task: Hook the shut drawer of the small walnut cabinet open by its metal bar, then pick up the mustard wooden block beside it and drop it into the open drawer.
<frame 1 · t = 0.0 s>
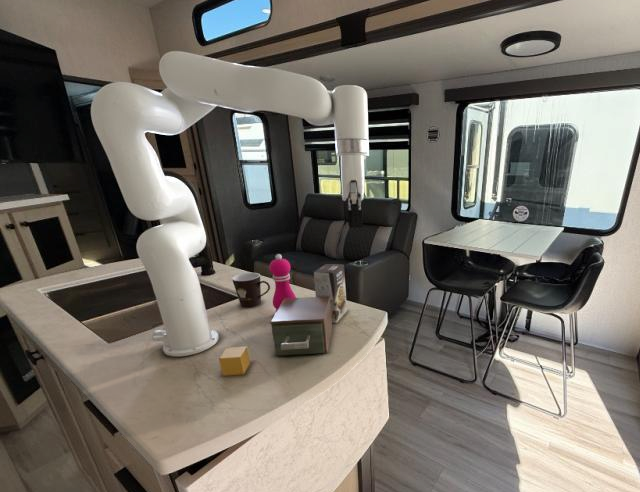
hand: (356, 223, 79), 31 cm above the countertop, tool pointing down, fingers open, 9 cm apart
coffee mug: (253, 305, 109), on the countertop
block: (237, 369, 74), on the countertop
pepper mill: (286, 315, 102), on the countertop
cabinet: (306, 339, 87), on the countertop
drawer: (301, 331, 81), point 5 cm above the countertop, slide at 0.0 cm
coffee box: (333, 316, 101), on the countertop
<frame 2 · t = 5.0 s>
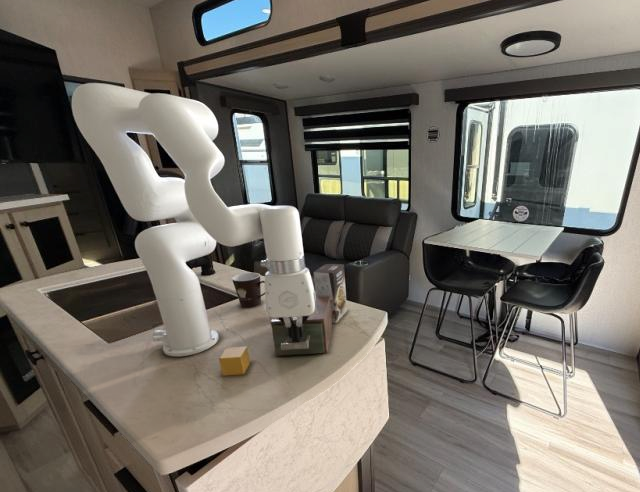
hand: (297, 339, 75), 6 cm above the countertop, tool pointing down, fingers closed
drawer: (301, 331, 81), point 5 cm above the countertop, slide at 0.1 cm, touching gripper
everything else where it was.
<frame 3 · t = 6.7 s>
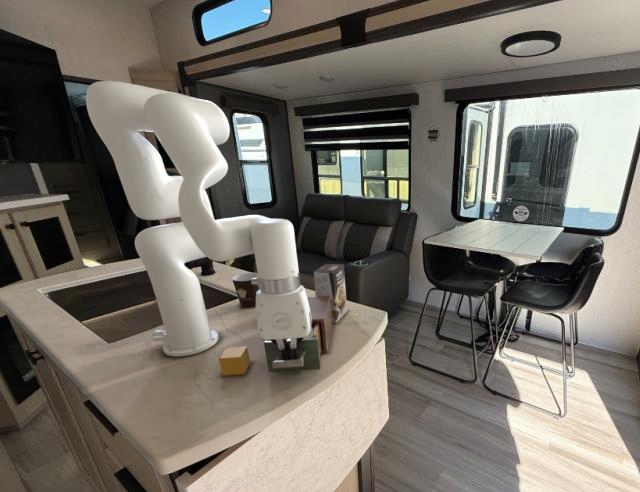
hand: (291, 361, 69), 5 cm above the countertop, tool pointing down, fingers closed
drawer: (296, 346, 75), point 5 cm above the countertop, slide at 7.1 cm
everything else where it was.
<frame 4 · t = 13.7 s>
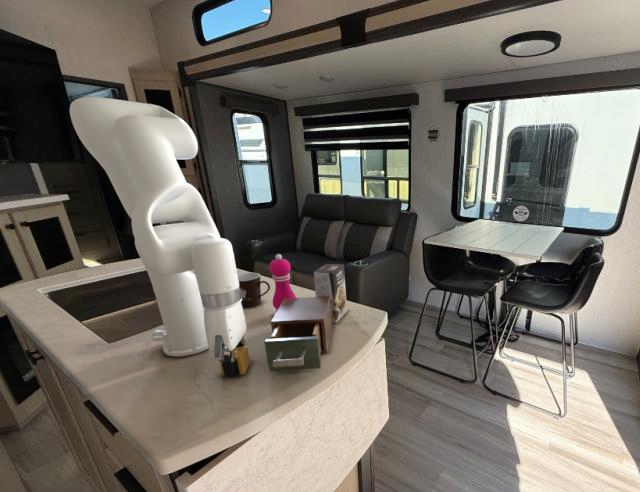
hand: (236, 367, 74), 0 cm above the countertop, tool pointing down, fingers closed on block, 4 cm apart
block: (237, 369, 74), on the countertop, touching gripper
drawer: (296, 345, 75), point 5 cm above the countertop, slide at 6.8 cm
everything else where it was.
when the fingers open (10 cm above the countertop, at t = 18.9 s): block stays where it is, resting on cabinet.
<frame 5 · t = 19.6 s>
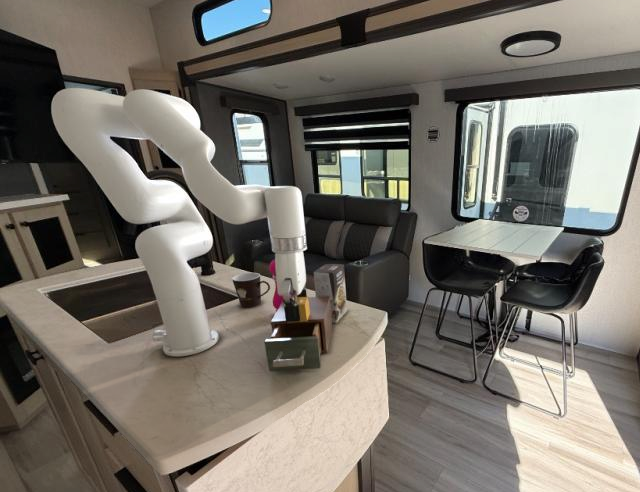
hand: (297, 312, 77), 11 cm above the countertop, tool pointing down, fingers open, 9 cm apart
block: (299, 317, 78), point 10 cm above the countertop, touching cabinet
everything else where it was.
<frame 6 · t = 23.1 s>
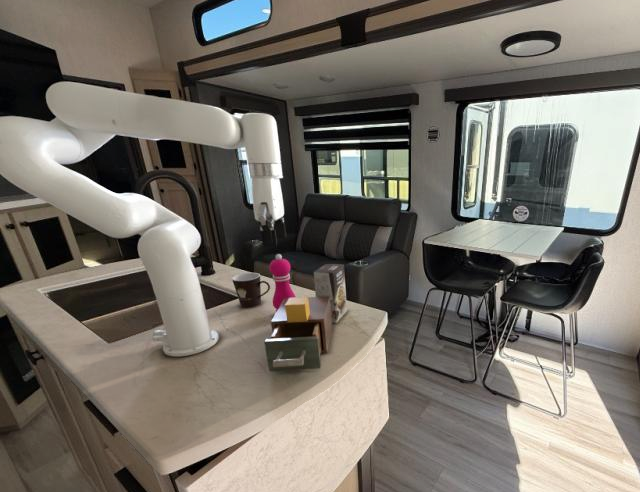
hand: (275, 242, 82), 26 cm above the countertop, tool pointing down, fingers open, 9 cm apart
nothing on the countertop moved.
at the end: drawer slide at 6.8 cm; block inside the target area in the drawer (1.0 cm from its centre), point 9.6 cm above the cabinet's base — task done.
